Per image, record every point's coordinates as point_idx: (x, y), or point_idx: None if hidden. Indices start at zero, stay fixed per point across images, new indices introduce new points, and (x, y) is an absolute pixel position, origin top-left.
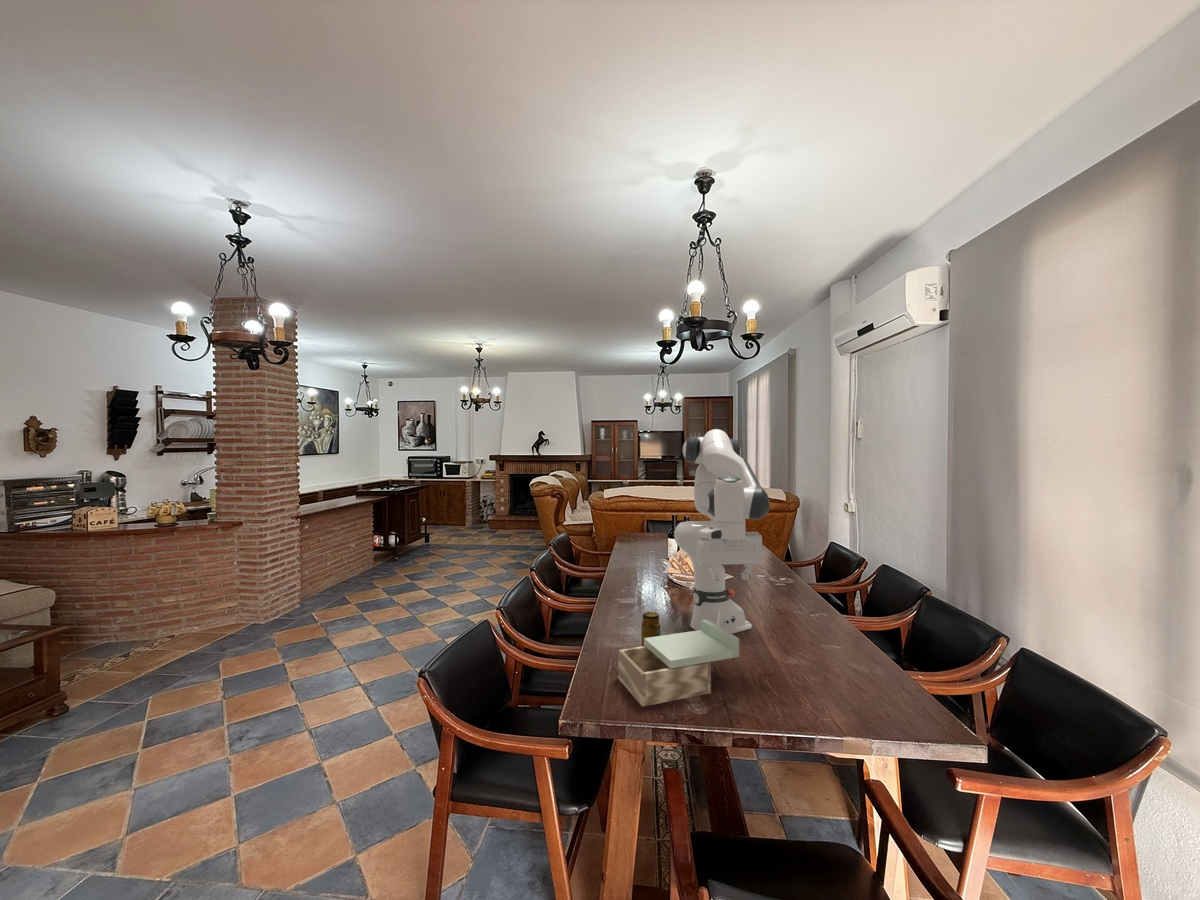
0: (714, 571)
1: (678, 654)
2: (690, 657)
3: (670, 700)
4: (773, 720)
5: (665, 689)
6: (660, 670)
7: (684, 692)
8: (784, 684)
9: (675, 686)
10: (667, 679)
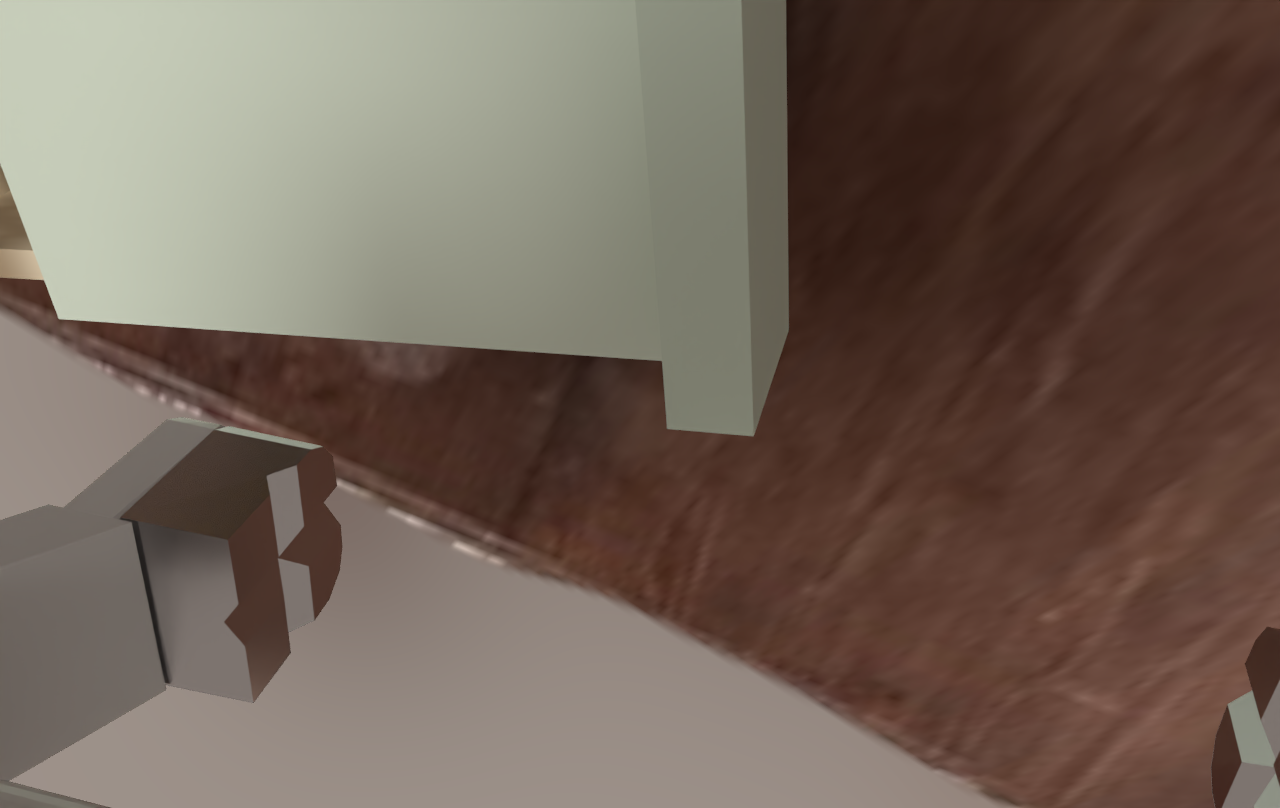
0: (30, 759)
1: (143, 238)
2: (236, 329)
3: None
4: (770, 586)
5: None
6: (31, 265)
7: None
8: (1261, 302)
9: None
10: None
